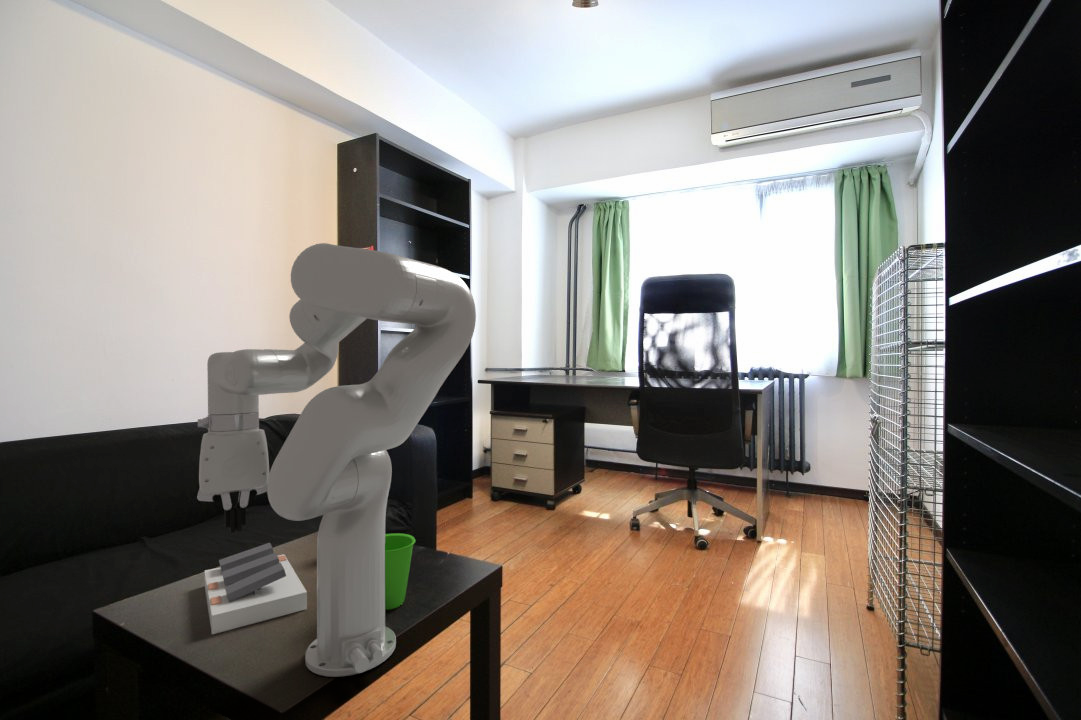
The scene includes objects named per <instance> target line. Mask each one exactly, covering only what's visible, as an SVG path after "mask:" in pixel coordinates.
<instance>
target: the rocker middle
mask: <svg viewBox="0 0 1081 720" xmlns="http://www.w3.org/2000/svg"><path fill="white" fill-rule="evenodd" d="M278 563H279V558H278V555H277V553H276V552H274V553H273V554H270V555H267V556H265V557H262V558H259V559H256V560H253V561H251V562H248V563H245V564H242V565H240V566H237V567H234V568H231V569H228V570H226V571H223V572H222V575H223V580H224V584H225V586H226V585H229V584H231V583H234V582H237V581H239V580H242V579H244V578H247V577H249V576H251V575H254V574H256V573H258V572H260V571H263V570H265V569H267V568H269V567H272V566H274V565H276V564H278Z"/></svg>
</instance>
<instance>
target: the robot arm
mask: <svg viewBox="0 0 1081 720" xmlns="http://www.w3.org/2000/svg"><path fill="white" fill-rule="evenodd" d="M290 283H291V287H292V290H293V292H294V293H295V295H296V297H298V299H299V300H298V301H297V302H295V304H293V305H292V307H291V309H290V311H289V323H290V326H291V328H292V330H293V331H294V333H295V334H296V336H297V337H298V338H299V339H300V340H301V341H302V342H303V343H302V344H301V345H300V346H299V347H297V348H295V349H273V348H271V349H268V348H267V349H262V348H261V349H258V348H257V349H256V348H253V349H252V348H251V349H250V348H249V349H248V348H246V349H240V350H239V349H238V350H235V351H224V352H223V351H222V352H215V353H212V354H210V355H209V357H208V359H207V416H205V417H202V418H198V419H197V428H206V429H207V432H206V433H203V435H202V439H201V444H200V454H199V465H198V466H199V468H198V484H199V489H198V492H197V496H196V497H197V498H196V499H197V500H198V501H199V502H214V503H215V504H217V506H219V507H221V508H222V509H224V528H225V529H227V528H228V530H229V533H230V534H234V533H235V532H237V533H239V532H240V533H241V532H242V530H243V529H242V526H244V525H245V526H246V524H247V523H246V522H247V519H246V512H247V511H246V508H247V506H248V505H249V504H250V502H251V501H253V499H254V498H255V497H256V496H257V495H261V494H264V493H266V494H267V498H268V502H269V504H270V507H271V508H272V510H273V511H274V512H275V514H277V515H278V516H279V517H282V518H283V519H285V520H289V521H296V522H297V521H298V522H299V521H305V520H306V521H307V520H311V519H314V518H317V517H321V516H322V519H321V521H320V524H319V527H318V533H317V538H316V539H317V540H316V639H314V640H313V641H312V642H311V643H310V644H309V645H308V647H307V648H306V650H305V657H304V660H305V666H306V668H307V669H308V670H309V671H311V672H312V673H314V674H317V675H318V676H324V677H333V678H335V677H336V678H338V677H339V678H340V677H348V676H354V675H358V674H361V673H364V672H367V671H369V670H372V669H373V668H376V667H377V666H379V665H381V664H383V662H385V661H387V659H388V658H390V656H392V654H393V652H395V649H396V646H397V645H396V644H397V638H396V634H395V632H394V631H393V630H392V629H391V628H389V627H387V626H386V610H385V534H386V516H387V513H386V512H387V506H388V497H389V495H390V494H389V492H390V490H391V483H392V475H393V474H392V473H393V471H392V470H393V469H392V468H393V467H392V460H391V457H390V455H389V452H388V451H387V450H390V449H394V448H397V447H399V446H400V445H402V444H403V443H405V441H406V440H408V438H409V437H410V436H411V434H412V432H413V431H414V430H415V428H416V426H417V425H418V423H419V422H420V420H421V418H422V417H423V416H424V414H425V413H426V411H427V410H428V408H429V406H430V405H431V404H432V402H433V400H434V399H435V397H436V396H437V394H438V392H439V390H440V388H441V387H442V386H443V384H444V383H445V381H446V380H447V378H448V376H449V375H450V374H451V372H452V371H453V370H454V369H455V367H456V365H457V364H458V363H459V361H460V360H461V359H462V357H463V356H464V354H465V353H466V350H467V349H468V348H469V346H470V343H471V341H472V339H473V336H474V332H475V330H476V329H475V328H476V322H477V321H476V319H477V311H476V306H475V305H476V304H475V300H474V296H473V294H472V292H471V290H470V288H469V287H468V285H467V284H466V282H465V281H464V280H463V279H462V278H461V277H460V276H459V275H457V274H455V273H454V272H452V271H451V270H448V269H447V268H444V267H441V266H439V265H435V264H431V263H429V262H424V261H420V260H416V259H412V258H408V257H406V256H402V255H399V254H394V253H390V252H386V251H381V250H376V249H375V250H373V249H365V248H359V247H351V246H345V245H337V244H331V243H328V242H327V243H326V242H322V243H315V244H312V245H310V246H308V247H306V248H305V249H303V251H302V252H300V253H299V255H297V257H296V258H295V260H294V261H293V264H292V267H291V270H290ZM367 319H369V320H373V321H379V322H389V323H400V324H409V325H415V327H414V329H413V330H412V331H411V332H410V333H408V335H406V336H405V337H403V339H401V340H400V341H399V342H397V344H396V345H394V347H393V348H392V349H391V350H390V351H389V353H388V354H387V355H386V357H385V359H384V361H383V362H382V365H380V367H379V369H378V370H377V372H376V373H375V375H374V376H373V377H372V378H371V379H370V380H368V381H367V382H364V383H360V384H350V385H346V384H345V385H337V386H332V387H329V388H327V389H324V390H322V391H320V392H319V393H318V394H316V395H315V396H314V397H313V398H311V399H310V400H309V401H308V402H307V404H306V405H305V407H304V408H303V409H302V411H301V413H300V414H299V416H298V418H297V420H296V422H295V423H294V426H293V427H292V429H291V430H290V432H289V435H287V437H286V439H285V441H284V443H283V445H282V446H281V448H280V450H279V451H278V453H277V455H276V457H275V459H274V461H273V462H272V463H273V464H272V465H271V467H270V463H269V462H270V461H269V459H270V458H269V449H268V441H267V437H266V433H265V429H261V428H260V412H259V411H260V409H259V408H260V407H259V405H260V404H259V401H260V398H259V397H260V395H261V396H262V395H263V396H264V395H271V394H272V395H273V394H274V395H275V394H289V393H290V394H291V393H299V392H302V391H305V390H308V389H309V388H310V387H312V386H314V385H315V384H316V383H317V382H319V381H320V380H321V379H322V378H324V377H325V376H326V375H328V374H329V372H330V371H332V369H333V368H334V366H335V364H336V361H337V358H338V355H339V346H340V345H339V343H340V342H341V341H342V340H343V339H345V338H346V337H347V336H348V335H349V334H350V333H352V332H353V331H354V330H355V329H356V328H358V327H359V326H360V325H361V324H362V323H364V322H365V321H366V320H367ZM235 492H239V493H238V500H237V501H236V502H235V504H236V505H234V503H233V502H232V499H231V495H230V493H235Z"/></svg>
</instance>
